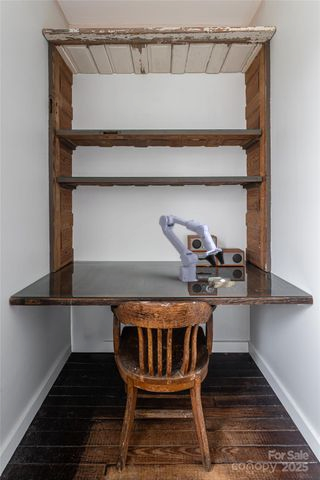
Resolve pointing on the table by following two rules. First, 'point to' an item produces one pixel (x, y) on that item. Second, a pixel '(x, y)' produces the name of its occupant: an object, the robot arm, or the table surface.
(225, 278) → the axle
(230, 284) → the parallel rails
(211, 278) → the v block
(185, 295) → the table surface
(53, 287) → the table surface
